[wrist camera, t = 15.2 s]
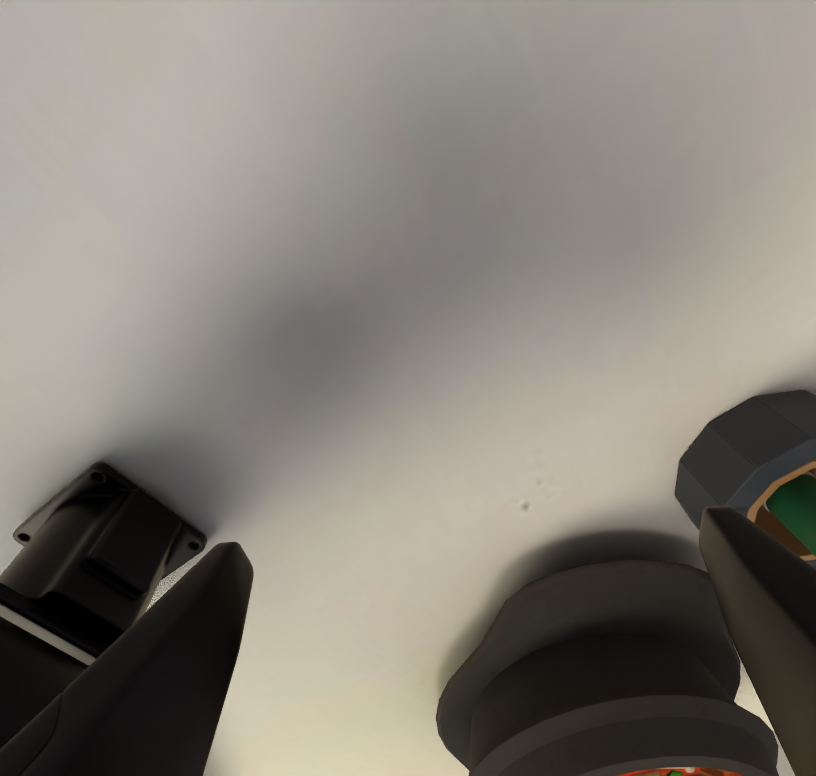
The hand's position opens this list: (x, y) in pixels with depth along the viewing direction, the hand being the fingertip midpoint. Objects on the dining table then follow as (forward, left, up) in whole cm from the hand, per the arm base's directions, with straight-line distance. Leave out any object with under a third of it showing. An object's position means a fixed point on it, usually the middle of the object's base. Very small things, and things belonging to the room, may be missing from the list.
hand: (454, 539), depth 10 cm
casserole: (-7, -26, -12) cm, 29 cm away
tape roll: (+9, -17, -12) cm, 23 cm away
